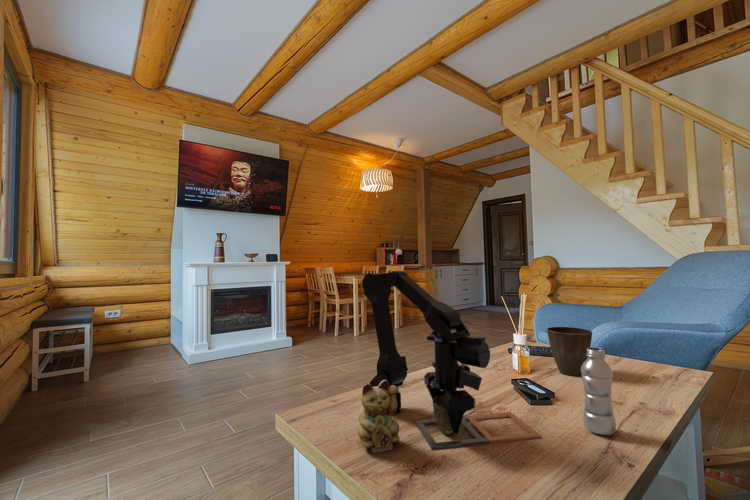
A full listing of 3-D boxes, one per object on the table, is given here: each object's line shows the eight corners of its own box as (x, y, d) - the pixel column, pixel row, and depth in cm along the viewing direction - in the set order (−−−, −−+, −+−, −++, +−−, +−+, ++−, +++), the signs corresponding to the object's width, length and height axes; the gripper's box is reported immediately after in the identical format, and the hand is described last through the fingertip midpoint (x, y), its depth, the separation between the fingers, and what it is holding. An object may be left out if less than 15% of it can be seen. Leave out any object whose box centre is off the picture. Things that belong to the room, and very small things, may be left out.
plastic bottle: (617, 442, 78) (613, 353, 79) (583, 434, 81) (579, 350, 82) (615, 430, 83) (611, 347, 84) (583, 423, 87) (579, 344, 88)
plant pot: (551, 365, 137) (550, 325, 138) (595, 371, 129) (593, 328, 129) (545, 374, 125) (543, 331, 126) (593, 382, 116) (590, 335, 117)
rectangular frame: (431, 449, 76) (431, 446, 76) (415, 423, 88) (415, 420, 88) (540, 437, 80) (540, 435, 80) (510, 414, 93) (510, 411, 93)
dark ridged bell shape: (464, 441, 79) (463, 406, 79) (432, 439, 80) (431, 404, 81) (462, 427, 86) (462, 395, 86) (433, 424, 87) (432, 393, 88)
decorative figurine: (365, 459, 72) (364, 387, 73) (352, 440, 80) (351, 376, 81) (404, 448, 76) (403, 381, 77) (388, 432, 84) (387, 370, 85)
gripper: (495, 369, 76) (498, 440, 75) (461, 349, 94) (462, 406, 94) (448, 372, 74) (450, 445, 73) (423, 351, 93) (424, 409, 92)
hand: (448, 424), depth 83 cm, fingers open, 9 cm apart
